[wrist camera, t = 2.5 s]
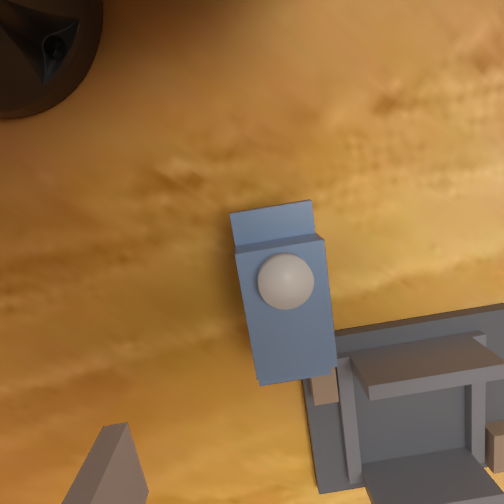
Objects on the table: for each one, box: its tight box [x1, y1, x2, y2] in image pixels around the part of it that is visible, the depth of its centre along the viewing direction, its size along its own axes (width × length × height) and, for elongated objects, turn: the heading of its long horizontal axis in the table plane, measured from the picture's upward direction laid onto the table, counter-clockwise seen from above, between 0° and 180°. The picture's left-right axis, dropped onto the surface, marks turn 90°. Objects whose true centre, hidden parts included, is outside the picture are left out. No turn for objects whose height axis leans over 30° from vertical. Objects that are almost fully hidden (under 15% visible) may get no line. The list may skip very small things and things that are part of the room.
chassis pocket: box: [302, 303, 504, 504], centre depth 27 cm, size 18×16×6 cm
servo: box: [230, 200, 338, 386], centre depth 22 cm, size 5×12×9 cm, turn 9°
